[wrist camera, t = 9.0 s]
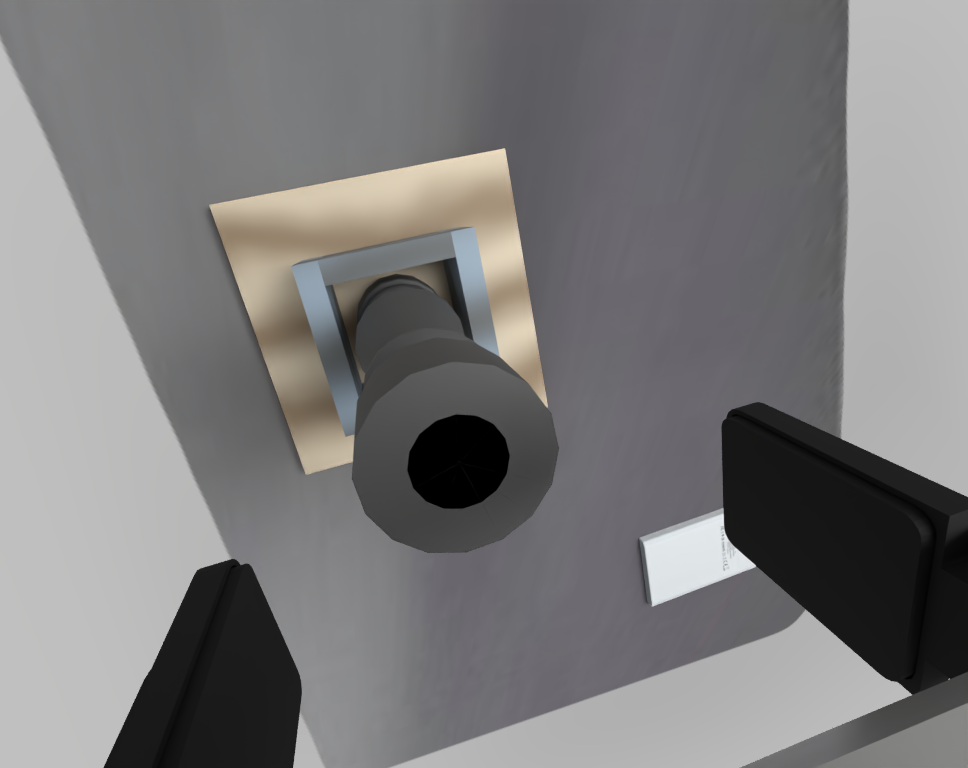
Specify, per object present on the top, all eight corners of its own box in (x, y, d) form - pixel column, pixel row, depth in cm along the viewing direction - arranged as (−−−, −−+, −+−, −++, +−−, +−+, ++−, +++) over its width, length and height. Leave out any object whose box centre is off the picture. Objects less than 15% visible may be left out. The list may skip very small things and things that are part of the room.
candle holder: (383, 371, 38) (411, 598, 14) (340, 298, 36) (292, 424, 12) (456, 333, 38) (597, 494, 15) (418, 258, 36) (514, 308, 13)
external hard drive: (635, 534, 50) (743, 496, 52) (644, 597, 53) (746, 560, 55) (644, 543, 49) (755, 504, 51) (652, 608, 52) (757, 569, 53)
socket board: (214, 205, 33) (177, 199, 27) (500, 150, 36) (532, 132, 30) (307, 468, 40) (296, 516, 33) (542, 402, 43) (576, 434, 36)
